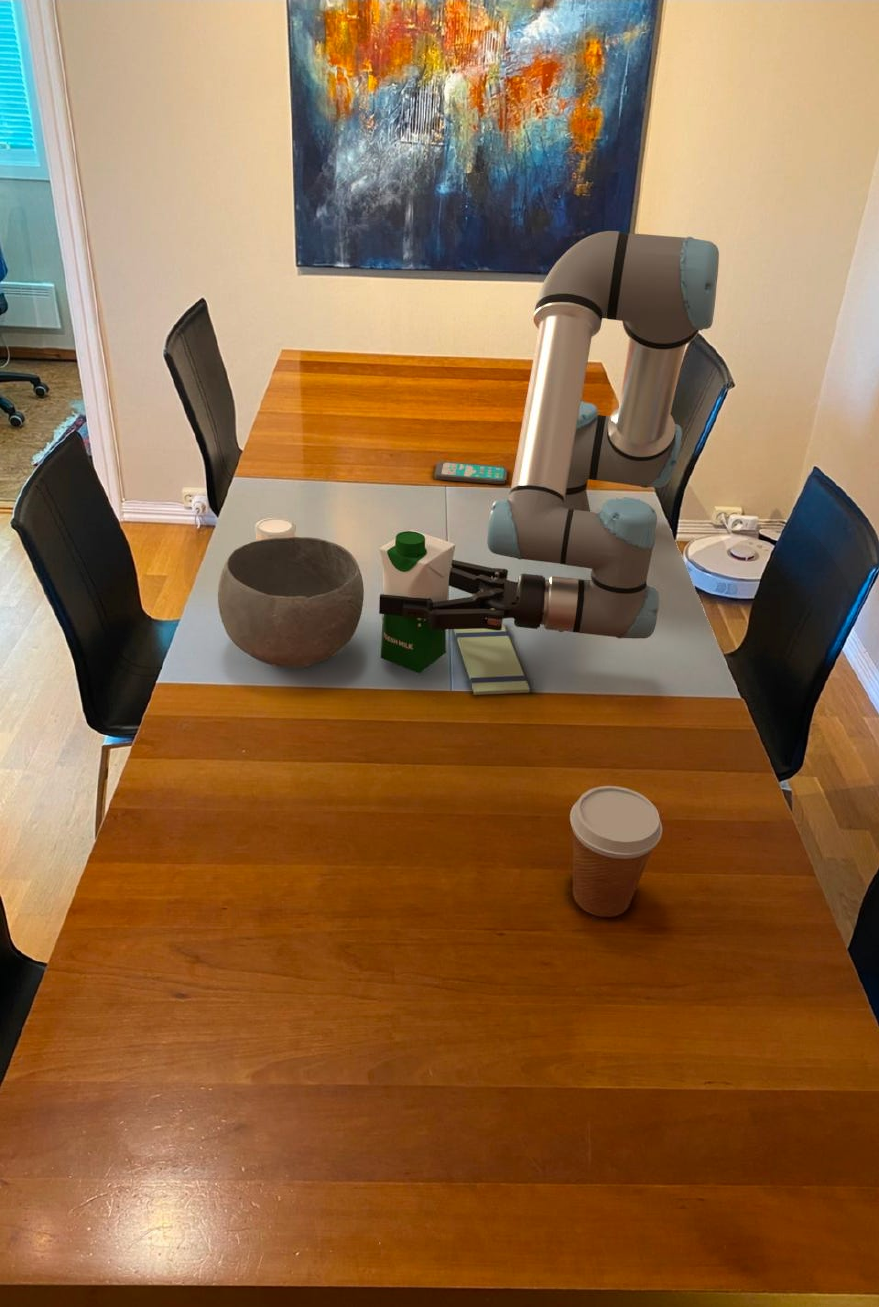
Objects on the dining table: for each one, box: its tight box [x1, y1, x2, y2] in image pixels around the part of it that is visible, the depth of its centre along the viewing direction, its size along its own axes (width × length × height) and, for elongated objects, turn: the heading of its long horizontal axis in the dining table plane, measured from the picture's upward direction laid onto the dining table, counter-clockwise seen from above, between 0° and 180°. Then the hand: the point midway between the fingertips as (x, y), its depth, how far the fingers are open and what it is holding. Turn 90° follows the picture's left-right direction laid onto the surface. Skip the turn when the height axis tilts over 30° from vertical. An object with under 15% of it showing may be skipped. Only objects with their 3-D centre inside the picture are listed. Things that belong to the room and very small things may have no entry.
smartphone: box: [433, 461, 508, 485], centre depth 207 cm, size 9×1×15 cm
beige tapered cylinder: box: [254, 517, 297, 541], centre depth 168 cm, size 7×7×7 cm
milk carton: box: [379, 529, 456, 675], centre depth 139 cm, size 9×9×20 cm
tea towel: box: [453, 623, 531, 696], centre depth 147 cm, size 8×18×1 cm, turn 9°
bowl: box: [217, 536, 365, 668], centre depth 142 cm, size 20×20×15 cm
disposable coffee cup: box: [569, 785, 663, 918], centre depth 105 cm, size 10×10×12 cm
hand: (385, 587), depth 139 cm, fingers closed on milk carton, 9 cm apart
